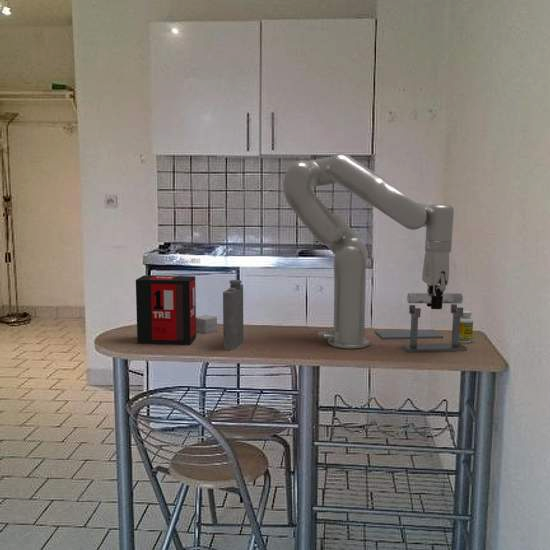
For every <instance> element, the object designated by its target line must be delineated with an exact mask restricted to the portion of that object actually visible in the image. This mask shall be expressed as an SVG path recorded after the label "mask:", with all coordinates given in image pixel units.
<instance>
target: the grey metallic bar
mask: <svg viewBox="0 0 550 550" xmlns="http://www.w3.org/2000/svg"><path fill="white" fill-rule="evenodd" d="M432 296H433V293H427V292H426V293H424V292H420V293H419V292H415V293H414V292H408V293H407V297H406V300H407V303H408V304H427V303H431V300H432ZM463 297H464V296H463V294H462V293H460V292H459V293H456V292H455V293H449V292H448V293H446V292H445V293H443V302H442V304H462V303H463Z"/></svg>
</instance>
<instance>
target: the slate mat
mask: <svg viewBox="0 0 550 550" xmlns="http://www.w3.org/2000/svg"><path fill="white" fill-rule="evenodd" d="M374 333H375V334H376V335H377V336H378V337H379V338H380V339H382V340H406V339H407V340H409V339H410V334H411V329H401V330H400V329H399V330H396V329H395V330H394V329H393V330H392V329H391V330H374ZM443 338H444V335H442V334H441V333H439V332H438V331H436V330H435V329H418V332H417V339H443Z"/></svg>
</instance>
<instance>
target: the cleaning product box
mask: <svg viewBox="0 0 550 550" xmlns="http://www.w3.org/2000/svg"><path fill="white" fill-rule="evenodd" d="M135 298H136V299H135V301H136V302H135V304H136V305H135V306H136V307H135V308H136V333H137V334H136V335H137V338H136V339H137V343H136V344H137V345H161V346H162V345H163V346H164V345H165V346H192V344H193V342H195V340H196V339H197V332H196V317H197V312H196V311H197V305H196V304H197V302H196V276H193V275H192V276H191V275H188V276H187V275H142V276H140V277H139V278H137V279H135Z"/></svg>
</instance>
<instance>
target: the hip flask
mask: <svg viewBox="0 0 550 550" xmlns="http://www.w3.org/2000/svg"><path fill="white" fill-rule="evenodd" d="M229 284H230V286H229V288H228V289H226V290H224V291H223V292H222V316H223V317H222V318H223V319H222V320H223V322H222V324H223V325H222V326H223V327H222V328H223V329H222V333H223V334H222V336H223V339H222V340H223V349H224V350H223V351H225V350H228V351H227V352H231V351H230V350H233V351H235V350H236V349H238V348H239V347H240V346H241V345H242V344H243V342H244V284H243V283H242V280H240V279H231V280H229ZM241 343H242V344H241ZM238 346H239V347H238ZM237 347H238V348H237ZM234 349H235V350H234Z"/></svg>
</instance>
